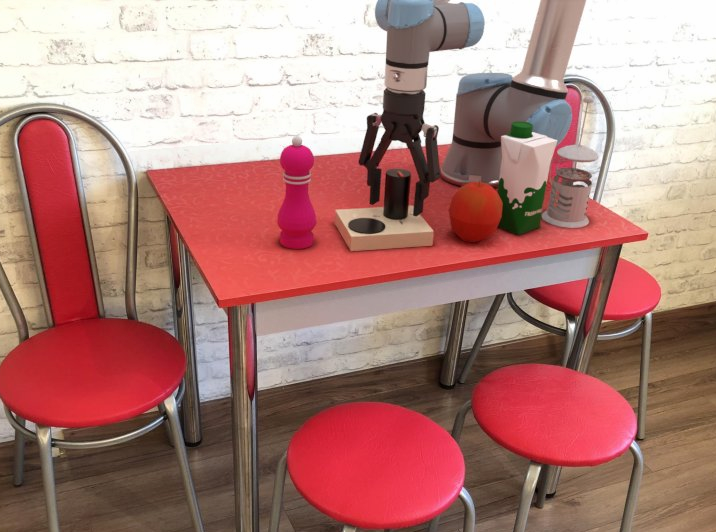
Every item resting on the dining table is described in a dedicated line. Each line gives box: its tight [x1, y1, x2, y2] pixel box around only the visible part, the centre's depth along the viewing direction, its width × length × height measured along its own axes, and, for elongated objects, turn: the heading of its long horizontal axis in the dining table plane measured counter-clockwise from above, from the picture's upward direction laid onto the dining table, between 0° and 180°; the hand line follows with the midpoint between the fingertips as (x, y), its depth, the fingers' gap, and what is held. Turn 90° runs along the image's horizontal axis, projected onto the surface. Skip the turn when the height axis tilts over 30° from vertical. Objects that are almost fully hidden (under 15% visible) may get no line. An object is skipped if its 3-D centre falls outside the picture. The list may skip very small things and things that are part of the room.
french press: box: [541, 95, 600, 229], centre depth 159 cm, size 10×12×25 cm
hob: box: [334, 204, 435, 252], centre depth 153 cm, size 16×13×3 cm
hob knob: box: [383, 168, 412, 220], centre depth 152 cm, size 5×5×9 cm
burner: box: [348, 218, 385, 234], centre depth 149 cm, size 7×7×1 cm
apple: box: [448, 181, 503, 243], centre depth 151 cm, size 10×10×12 cm
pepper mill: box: [276, 136, 317, 250], centre depth 144 cm, size 7×7×20 cm
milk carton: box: [496, 122, 558, 236], centre depth 155 cm, size 9×9×20 cm
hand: (395, 208), depth 154 cm, fingers open, 9 cm apart
